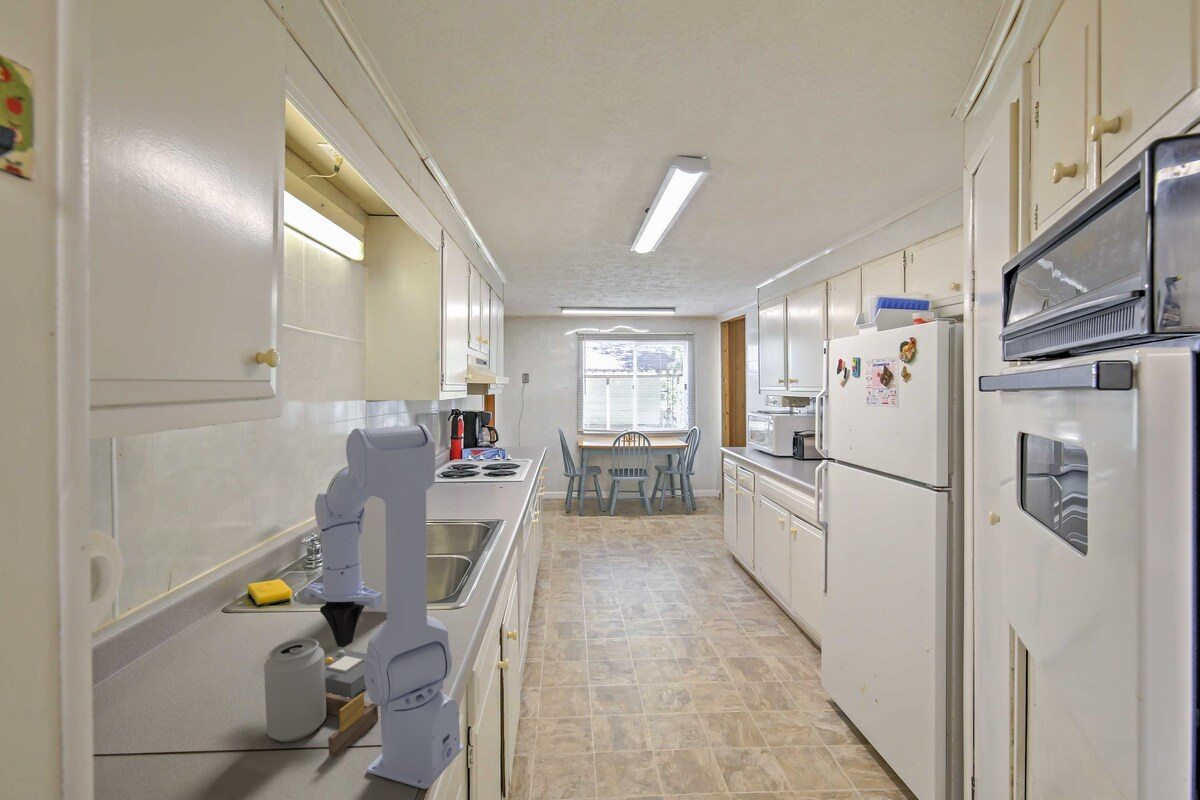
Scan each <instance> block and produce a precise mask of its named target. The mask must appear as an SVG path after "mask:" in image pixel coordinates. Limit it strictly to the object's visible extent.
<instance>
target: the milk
mask: <svg viewBox="0 0 1200 800" xmlns="http://www.w3.org/2000/svg"><path fill="white" fill-rule="evenodd" d="M364 508H365V516H364V520H363V531H362V534H360V553H361V581H362V582H365V587H367V588H369V589H372V590H374V591H376V592H380V593H382V601H383V604H382V605H380V606H378V607H377V608H375V609H371V608H369V606H364V608H363V610H362V612H368V613H369V612H371V613H374V612H377V613H387V596H386V506H385V502H384V501H383V499H382V498H379V497H375V496H372V495H371V496H370V498H369V499H368V501H367V502H366V504H365V505H364Z"/></svg>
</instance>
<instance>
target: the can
mask: <svg viewBox="0 0 1200 800" xmlns="http://www.w3.org/2000/svg"><path fill="white" fill-rule="evenodd" d="M319 645H320V642H319V641H318V640H317V639H315V638H313V637H312V638H311V637H301V638H293V639H290V640H288V641H284V642H282V643H280V644H278V645H276V646H274V647H273V648H272V649H271V650H270V651H269V654H268V659H267V660H266V661H265V662H264V665H263V670H264V671H263V672H264V674H263V675H264V695H265V698H264V699H265V714H266V716H265V717H266V718H265V719H266V733H267V736H269V737H270V738H271V739H273V740H275V741H276V740H277V741H278V742H283V743H286V742H287V743H288V742H289V743H290V742H295V741H299V740H301V739H304V738H306V737H308V736H310V735H312V734H313V733H314V732H315V731H316V730H318V728H319V727H320V726H321V725H322V724H323V723H324V721H325V720H326V718H327V713H326V690H325V663H324V659H325V651H324V649H323V648H322V647H321V646H319Z"/></svg>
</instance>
